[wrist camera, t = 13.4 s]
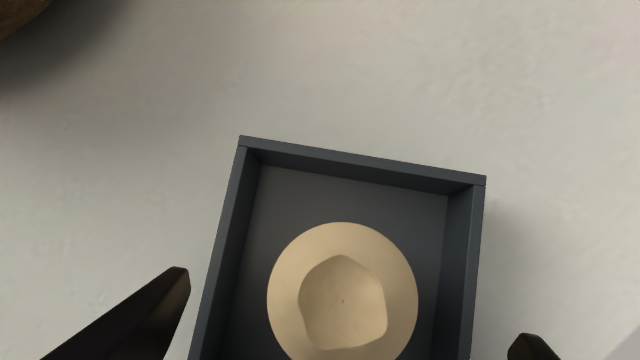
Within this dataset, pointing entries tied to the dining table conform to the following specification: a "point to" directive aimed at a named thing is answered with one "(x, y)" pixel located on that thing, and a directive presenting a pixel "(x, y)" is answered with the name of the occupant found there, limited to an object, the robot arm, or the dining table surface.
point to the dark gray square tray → (340, 206)
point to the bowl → (18, 14)
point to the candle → (342, 295)
